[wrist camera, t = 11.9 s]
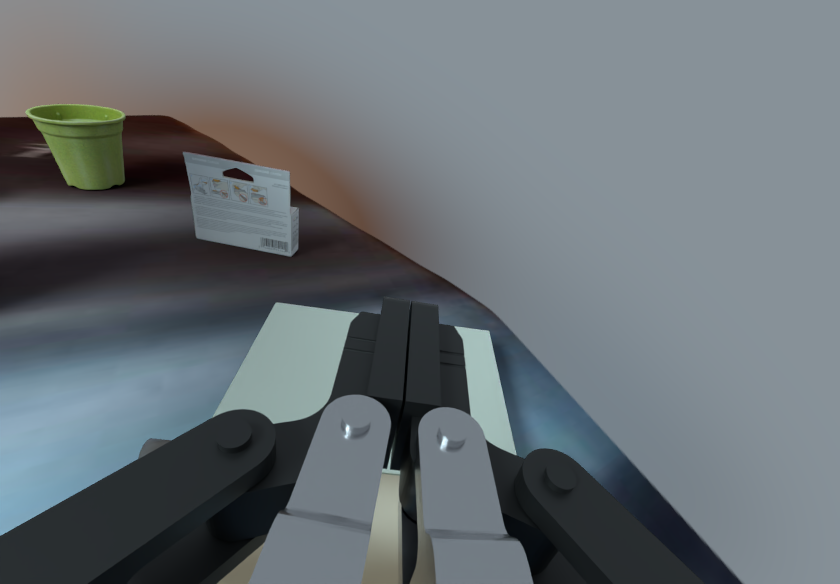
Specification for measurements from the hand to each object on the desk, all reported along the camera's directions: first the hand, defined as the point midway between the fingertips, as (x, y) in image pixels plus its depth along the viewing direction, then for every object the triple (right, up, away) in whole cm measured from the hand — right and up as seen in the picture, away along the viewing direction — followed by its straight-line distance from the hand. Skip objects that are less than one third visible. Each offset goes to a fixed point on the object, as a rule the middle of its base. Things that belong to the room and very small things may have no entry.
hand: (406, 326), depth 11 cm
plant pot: (-42, +15, +42) cm, 61 cm away
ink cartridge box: (-19, +6, +35) cm, 41 cm away
